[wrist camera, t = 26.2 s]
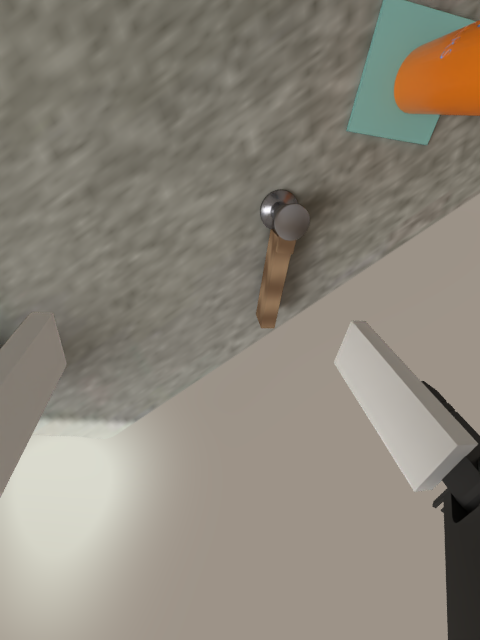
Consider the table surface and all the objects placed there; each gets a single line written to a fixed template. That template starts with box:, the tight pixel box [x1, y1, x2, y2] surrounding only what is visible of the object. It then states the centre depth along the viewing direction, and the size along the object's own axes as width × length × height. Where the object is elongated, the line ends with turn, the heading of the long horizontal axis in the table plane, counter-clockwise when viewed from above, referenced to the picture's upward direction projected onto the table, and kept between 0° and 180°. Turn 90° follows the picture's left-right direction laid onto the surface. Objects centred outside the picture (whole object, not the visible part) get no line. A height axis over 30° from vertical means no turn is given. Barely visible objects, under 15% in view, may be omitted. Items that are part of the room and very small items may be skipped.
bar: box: [256, 203, 310, 328], centre depth 45 cm, size 21×5×6 cm, turn 173°
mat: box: [346, 0, 476, 145], centre depth 37 cm, size 13×13×1 cm
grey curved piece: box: [260, 190, 298, 229], centre depth 42 cm, size 6×6×5 cm
